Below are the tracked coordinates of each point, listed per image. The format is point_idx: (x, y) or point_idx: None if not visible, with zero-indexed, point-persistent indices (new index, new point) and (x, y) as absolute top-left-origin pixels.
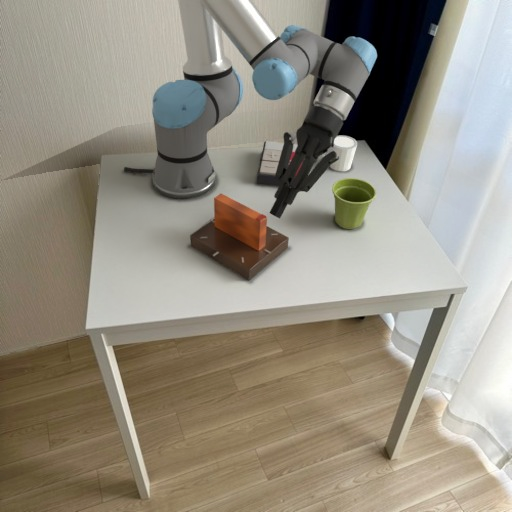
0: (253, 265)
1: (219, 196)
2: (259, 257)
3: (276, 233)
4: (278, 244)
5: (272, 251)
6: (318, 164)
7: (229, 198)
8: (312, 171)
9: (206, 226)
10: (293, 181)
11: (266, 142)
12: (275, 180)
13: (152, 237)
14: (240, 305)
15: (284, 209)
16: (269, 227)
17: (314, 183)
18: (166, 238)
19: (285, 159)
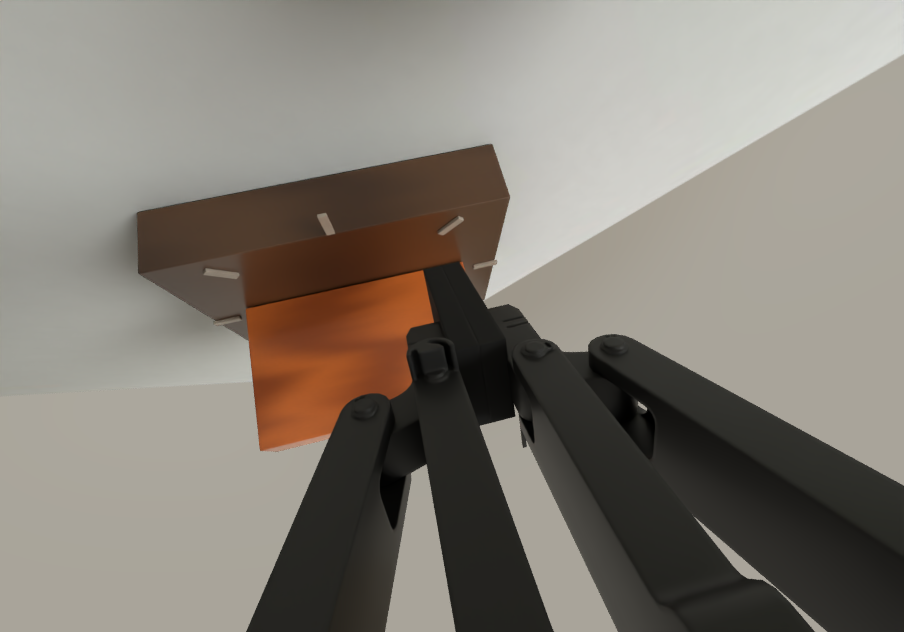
0: (483, 293)
1: (279, 449)
2: (478, 280)
3: (450, 217)
4: (495, 234)
5: (495, 252)
6: (825, 614)
7: (312, 438)
8: (721, 528)
9: (244, 330)
10: (532, 444)
11: None
12: None
13: (169, 347)
14: (500, 286)
15: (470, 282)
16: (398, 220)
17: (701, 383)
18: (190, 334)
19: (382, 624)
